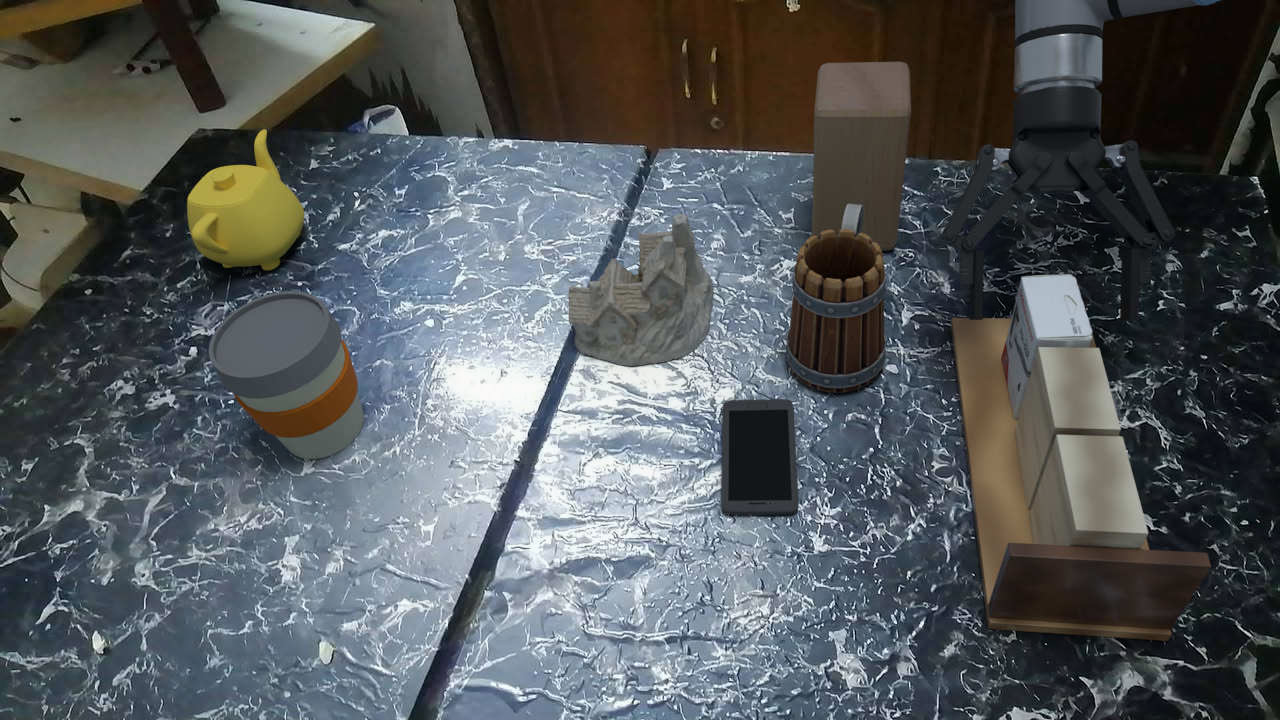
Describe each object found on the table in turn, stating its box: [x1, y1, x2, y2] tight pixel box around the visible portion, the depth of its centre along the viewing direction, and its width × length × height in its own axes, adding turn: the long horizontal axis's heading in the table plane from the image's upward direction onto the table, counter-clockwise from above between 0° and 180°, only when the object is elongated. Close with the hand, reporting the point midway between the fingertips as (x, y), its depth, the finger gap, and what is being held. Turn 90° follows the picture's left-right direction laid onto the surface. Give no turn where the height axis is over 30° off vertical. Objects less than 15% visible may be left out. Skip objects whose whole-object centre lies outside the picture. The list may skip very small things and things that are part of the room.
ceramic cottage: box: [567, 213, 715, 367], centre depth 104 cm, size 16×16×15 cm
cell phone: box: [720, 398, 799, 516], centre depth 93 cm, size 7×14×1 cm, turn 176°
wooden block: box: [811, 61, 912, 252], centre depth 108 cm, size 10×10×20 cm
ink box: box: [1001, 273, 1093, 419], centre depth 89 cm, size 9×5×12 cm, turn 174°
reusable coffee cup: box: [208, 290, 365, 460], centre depth 97 cm, size 12×12×15 cm
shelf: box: [950, 317, 1212, 642], centre depth 84 cm, size 14×36×13 cm, turn 172°
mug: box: [785, 204, 887, 393], centre depth 97 cm, size 16×11×15 cm
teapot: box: [186, 128, 306, 271], centre depth 123 cm, size 13×20×12 cm
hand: (1051, 320), depth 87 cm, fingers open, 13 cm apart
